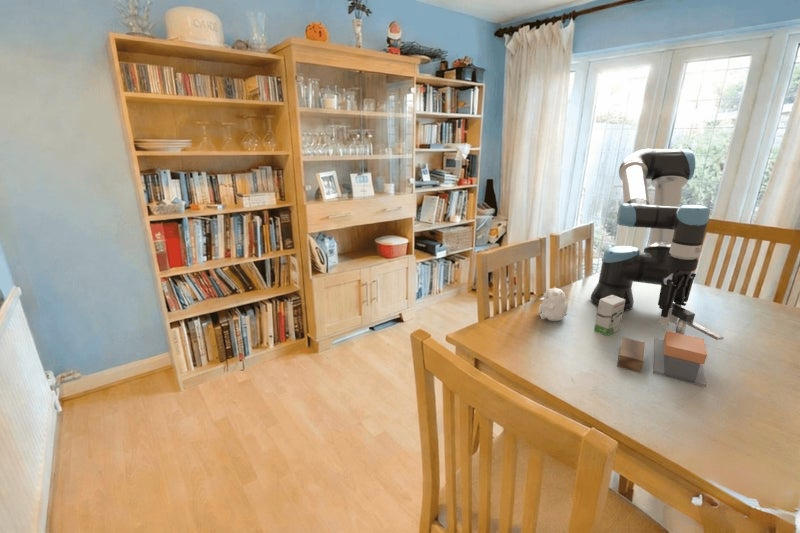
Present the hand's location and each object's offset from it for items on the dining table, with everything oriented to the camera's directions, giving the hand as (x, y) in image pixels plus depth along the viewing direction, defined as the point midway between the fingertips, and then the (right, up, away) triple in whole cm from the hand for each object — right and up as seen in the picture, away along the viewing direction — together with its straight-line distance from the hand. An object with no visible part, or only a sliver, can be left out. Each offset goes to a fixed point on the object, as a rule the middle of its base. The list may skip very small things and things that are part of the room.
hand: (668, 323), depth 123 cm
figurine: (-31, -1, +17) cm, 36 cm away
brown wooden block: (-18, -10, -10) cm, 23 cm away
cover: (-7, -5, -16) cm, 19 cm away
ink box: (-16, -4, +8) cm, 18 cm away
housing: (-4, -10, -10) cm, 14 cm away
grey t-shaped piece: (+1, -6, -5) cm, 8 cm away
